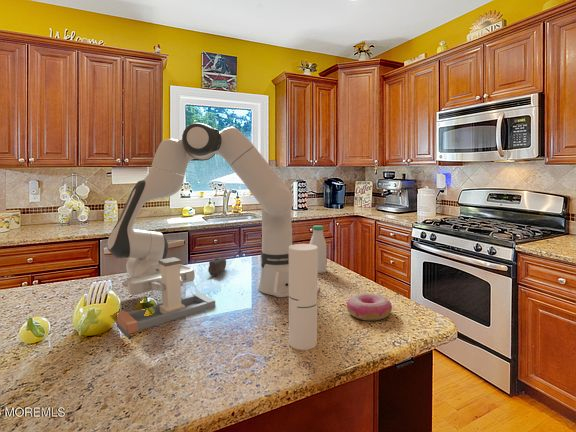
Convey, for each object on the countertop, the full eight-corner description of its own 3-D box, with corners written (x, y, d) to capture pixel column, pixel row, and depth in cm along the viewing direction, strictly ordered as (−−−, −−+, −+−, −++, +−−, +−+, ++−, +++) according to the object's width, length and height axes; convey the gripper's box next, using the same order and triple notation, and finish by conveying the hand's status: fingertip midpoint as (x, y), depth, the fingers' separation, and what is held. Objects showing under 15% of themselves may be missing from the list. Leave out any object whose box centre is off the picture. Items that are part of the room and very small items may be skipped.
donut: (388, 306, 110) (389, 292, 109) (394, 325, 97) (395, 308, 96) (346, 304, 112) (346, 289, 111) (346, 321, 99) (346, 305, 98)
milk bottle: (325, 273, 144) (326, 227, 142) (307, 272, 146) (307, 227, 143) (327, 268, 152) (327, 224, 149) (310, 267, 153) (310, 224, 151)
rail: (199, 302, 114) (199, 290, 113) (215, 311, 106) (215, 299, 106) (116, 326, 96) (115, 313, 95) (128, 339, 89) (127, 324, 88)
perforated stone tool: (219, 268, 154) (219, 253, 153) (230, 268, 153) (230, 253, 152) (205, 278, 139) (204, 261, 138) (217, 279, 138) (217, 262, 137)
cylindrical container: (298, 333, 92) (298, 242, 88) (321, 340, 88) (322, 246, 84) (283, 344, 86) (282, 247, 82) (307, 352, 82) (307, 251, 78)
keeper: (177, 306, 106) (174, 256, 104) (185, 312, 102) (182, 260, 100) (159, 311, 102) (156, 259, 100) (167, 317, 98) (164, 263, 96)
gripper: (118, 272, 103) (135, 283, 93) (182, 260, 116) (202, 268, 106) (120, 292, 103) (136, 305, 93) (183, 278, 117) (203, 288, 107)
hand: (172, 285), depth 100 cm, fingers closed on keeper, 4 cm apart
